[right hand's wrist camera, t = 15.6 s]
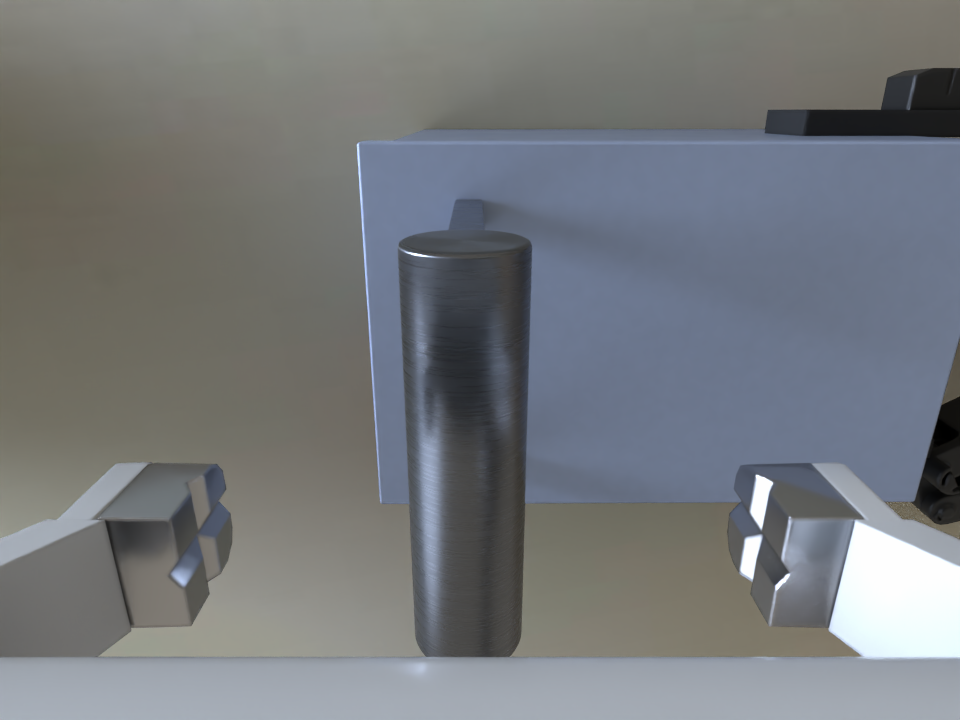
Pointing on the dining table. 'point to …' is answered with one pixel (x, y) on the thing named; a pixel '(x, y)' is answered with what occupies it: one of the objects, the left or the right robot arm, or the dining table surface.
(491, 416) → the lid
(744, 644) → the dining table surface
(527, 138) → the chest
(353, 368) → the dining table surface
